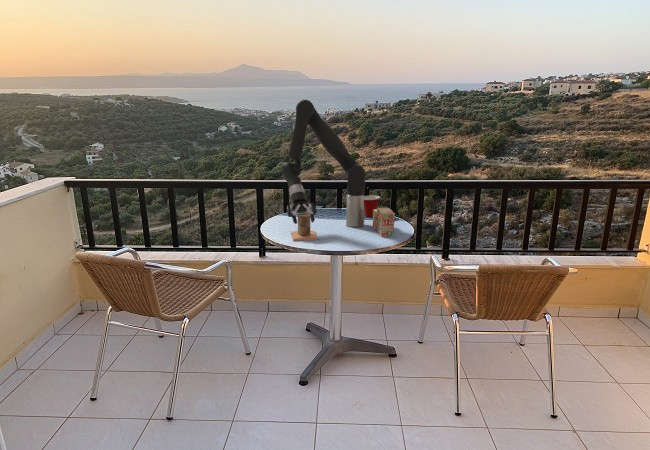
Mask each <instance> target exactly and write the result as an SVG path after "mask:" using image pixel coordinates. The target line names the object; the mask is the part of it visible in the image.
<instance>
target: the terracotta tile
mask: <svg viewBox="0 0 650 450" xmlns="http://www.w3.org/2000/svg"><path fill="white" fill-rule="evenodd" d="M290 235H292V236H291V239H292V240H293V242H300V241H299V240H304V241H318V240H319V237H318V235H317V233H316V231H315V230H310V235H309V236H300V235H299V234H298V230H296V231H295V230H294V231H290Z"/></svg>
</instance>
